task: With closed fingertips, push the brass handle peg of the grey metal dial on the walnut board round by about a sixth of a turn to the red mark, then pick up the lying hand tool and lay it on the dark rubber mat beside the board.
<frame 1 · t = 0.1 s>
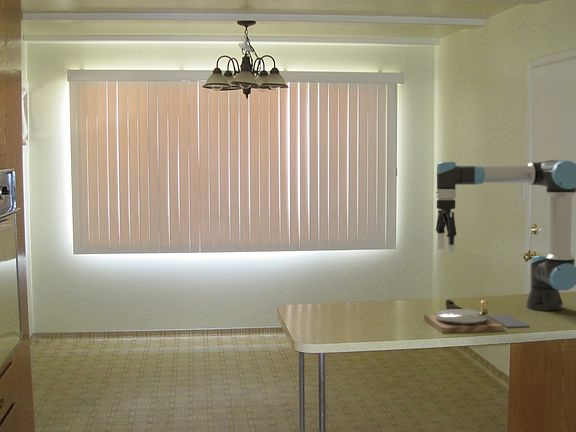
hand: (445, 250, 313), 28 cm above the counter, tool pointing down, fingers open, 13 cm apart
board: (462, 325, 300), on the counter
hand tool: (452, 314, 324), on the counter
mat: (507, 321, 305), on the counter
dial: (462, 310, 300), point 6 cm above the counter, hinge at 0.0°
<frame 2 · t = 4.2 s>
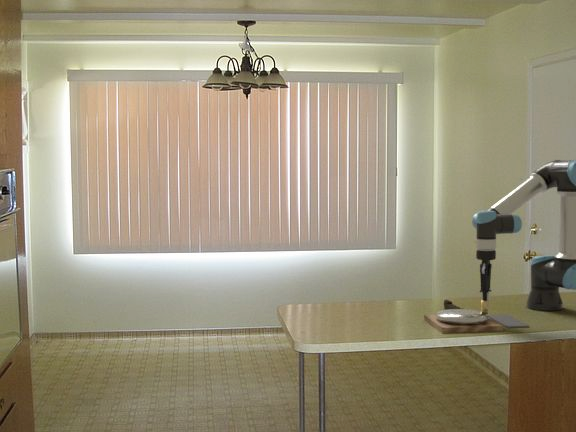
hand: (485, 307, 303), 6 cm above the counter, tool pointing down, fingers closed
dial: (462, 310, 300), point 6 cm above the counter, hinge at 0.0°, touching gripper
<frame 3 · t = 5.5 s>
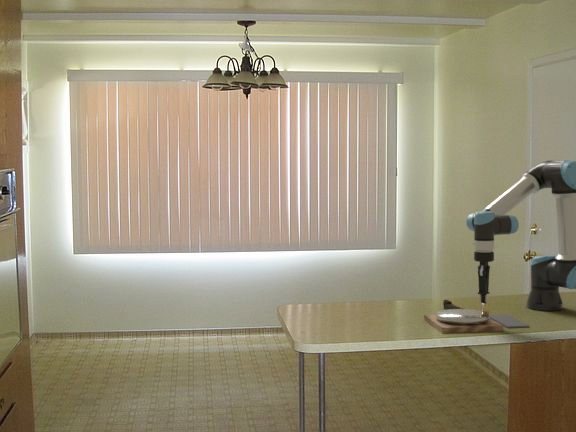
hand: (483, 310, 298), 6 cm above the counter, tool pointing down, fingers closed
dial: (462, 310, 299), point 6 cm above the counter, hinge at -29.5°, touching gripper
everything else where it was.
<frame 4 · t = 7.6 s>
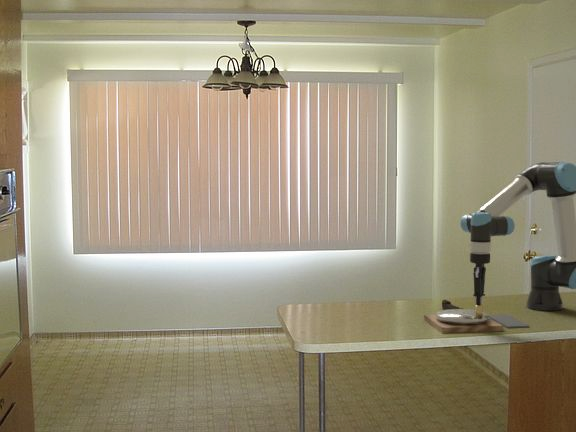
hand: (478, 312, 294), 6 cm above the counter, tool pointing down, fingers closed
dial: (462, 310, 299), point 6 cm above the counter, hinge at -64.6°, touching gripper
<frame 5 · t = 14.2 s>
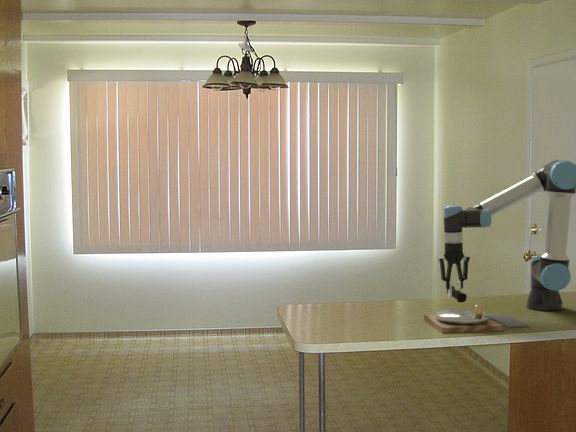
hand: (454, 296, 323), 7 cm above the counter, tool pointing down, fingers closed on hand tool, 3 cm apart
hand tool: (453, 298, 323), point 6 cm above the counter, touching gripper
dial: (462, 310, 299), point 6 cm above the counter, hinge at -65.6°
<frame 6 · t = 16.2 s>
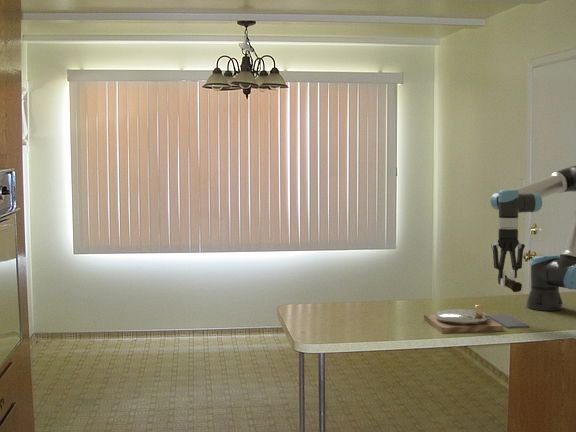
hand: (507, 286, 304), 14 cm above the counter, tool pointing down, fingers closed on hand tool, 3 cm apart
hand tool: (506, 288, 304), point 14 cm above the counter, touching gripper
everything else where it was.
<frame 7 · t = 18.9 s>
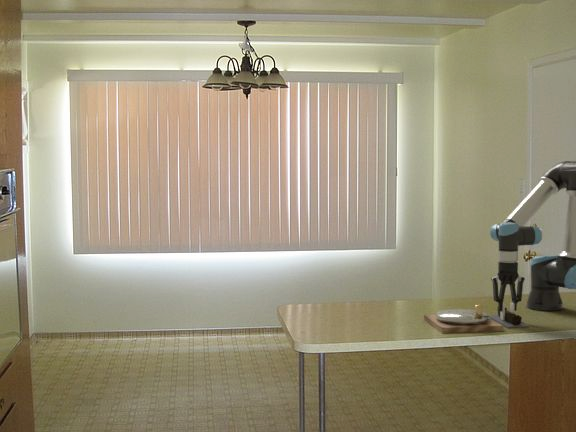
hand: (507, 318, 305), 1 cm above the counter, tool pointing down, fingers closed on hand tool, 3 cm apart
hand tool: (506, 320, 305), resting on mat, touching gripper
everything else where it was.
when the fingers open (1 cm above the counter, at t = 18.9 s): hand tool stays where it is, resting on mat.
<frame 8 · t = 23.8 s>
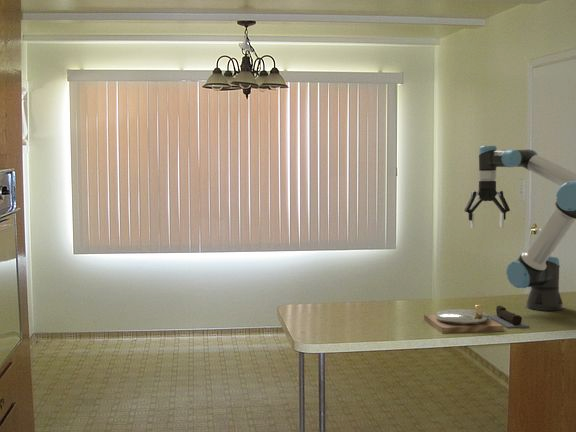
hand: (487, 227, 340), 35 cm above the counter, tool pointing down, fingers open, 13 cm apart
hand tool: (505, 320, 305), resting on mat
everything else where it was.
at the end: dial at -66° (first picture: +0°); hand tool inside the target area (0.9 cm from its centre), resting on mat; the gripper is holding nothing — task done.
